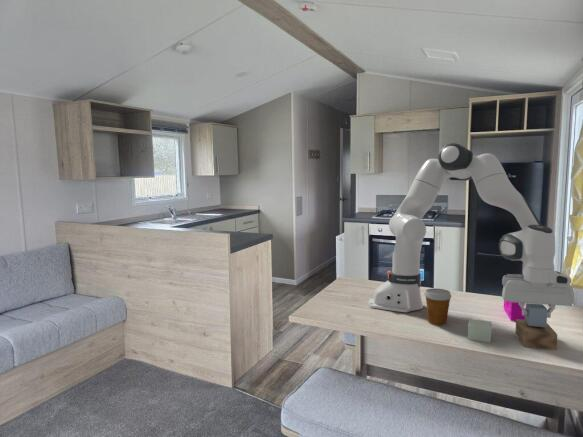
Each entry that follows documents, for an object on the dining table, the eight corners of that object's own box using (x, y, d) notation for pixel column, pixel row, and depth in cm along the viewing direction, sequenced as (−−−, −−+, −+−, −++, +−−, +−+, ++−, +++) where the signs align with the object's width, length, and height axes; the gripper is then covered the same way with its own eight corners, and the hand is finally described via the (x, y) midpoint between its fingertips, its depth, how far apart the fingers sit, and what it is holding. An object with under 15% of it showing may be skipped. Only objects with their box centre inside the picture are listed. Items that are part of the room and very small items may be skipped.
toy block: (529, 323, 149) (530, 303, 149) (510, 321, 151) (511, 302, 151) (520, 310, 164) (521, 292, 163) (503, 309, 166) (504, 291, 165)
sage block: (467, 339, 135) (468, 325, 135) (468, 332, 141) (469, 318, 141) (490, 343, 132) (491, 328, 131) (490, 335, 138) (491, 321, 138)
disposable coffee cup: (453, 327, 145) (454, 295, 144) (426, 326, 147) (426, 294, 146) (448, 318, 155) (448, 288, 154) (422, 317, 156) (422, 287, 155)
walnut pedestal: (524, 346, 128) (524, 331, 128) (515, 333, 139) (516, 319, 139) (556, 349, 125) (557, 334, 125) (545, 335, 137) (545, 321, 136)
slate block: (528, 325, 131) (529, 308, 130) (524, 320, 135) (525, 303, 135) (546, 327, 129) (547, 309, 129) (541, 321, 134) (542, 304, 133)
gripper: (504, 275, 130) (503, 316, 132) (577, 279, 124) (575, 322, 126) (500, 271, 136) (499, 310, 138) (570, 274, 130) (567, 315, 132)
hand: (536, 316), depth 132 cm, fingers closed on slate block, 5 cm apart
